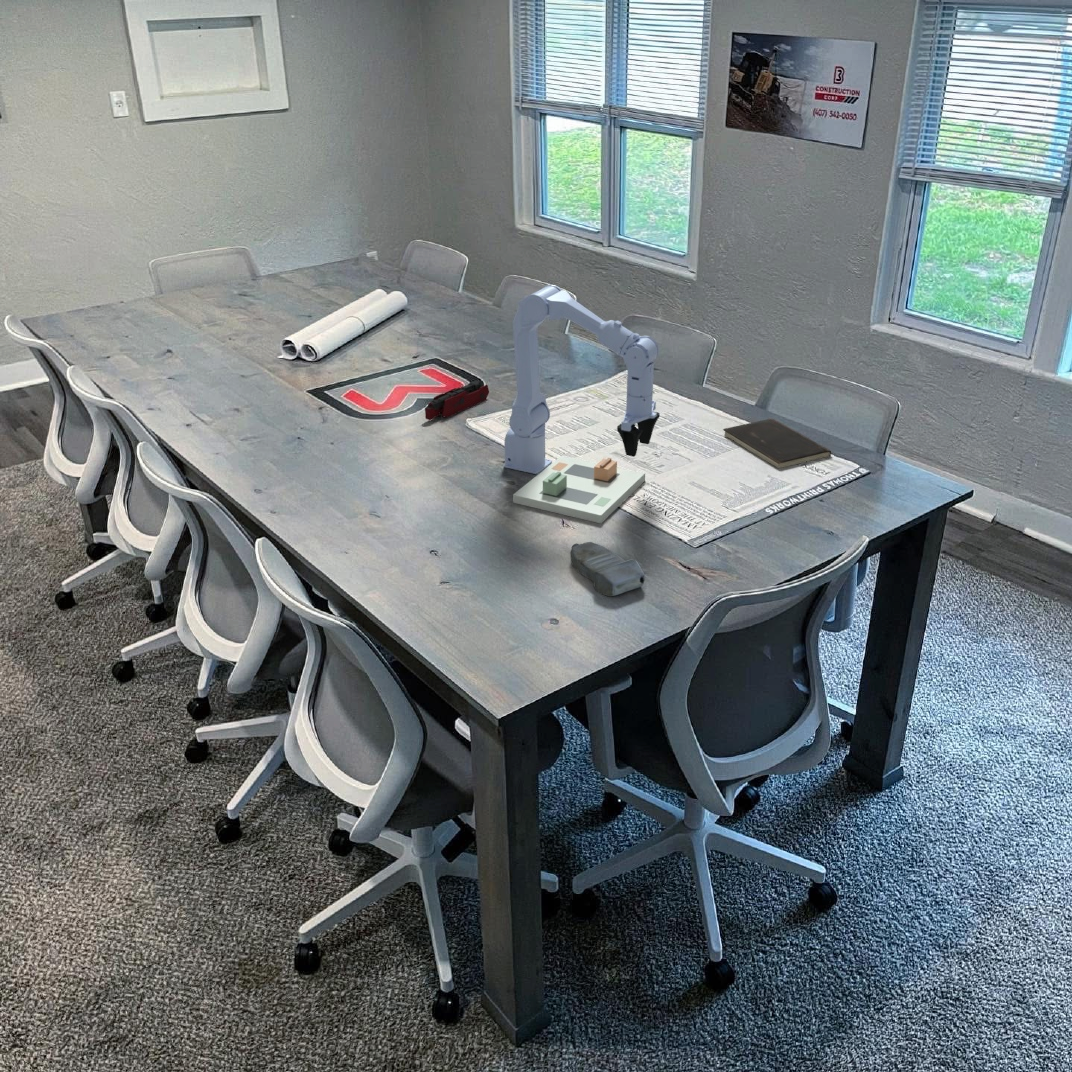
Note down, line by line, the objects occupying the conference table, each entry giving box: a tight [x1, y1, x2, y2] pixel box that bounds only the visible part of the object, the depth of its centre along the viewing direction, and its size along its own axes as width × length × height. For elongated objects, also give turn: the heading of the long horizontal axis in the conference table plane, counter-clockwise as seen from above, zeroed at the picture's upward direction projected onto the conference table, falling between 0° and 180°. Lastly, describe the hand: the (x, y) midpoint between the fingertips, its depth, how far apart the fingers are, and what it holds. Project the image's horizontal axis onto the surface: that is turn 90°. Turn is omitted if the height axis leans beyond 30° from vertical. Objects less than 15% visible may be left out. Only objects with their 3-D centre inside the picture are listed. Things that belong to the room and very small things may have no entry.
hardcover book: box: [722, 417, 832, 469], centre depth 264 cm, size 16×23×2 cm
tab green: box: [543, 472, 567, 496], centre depth 238 cm, size 4×5×4 cm
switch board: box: [512, 454, 646, 524], centre depth 243 cm, size 22×24×2 cm
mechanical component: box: [424, 380, 490, 421], centre depth 288 cm, size 23×4×6 cm, turn 143°
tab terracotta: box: [594, 457, 618, 481], centre depth 245 cm, size 4×5×4 cm
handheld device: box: [570, 541, 646, 597], centre depth 210 cm, size 10×20×5 cm, turn 32°
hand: (637, 449), depth 239 cm, fingers open, 7 cm apart
